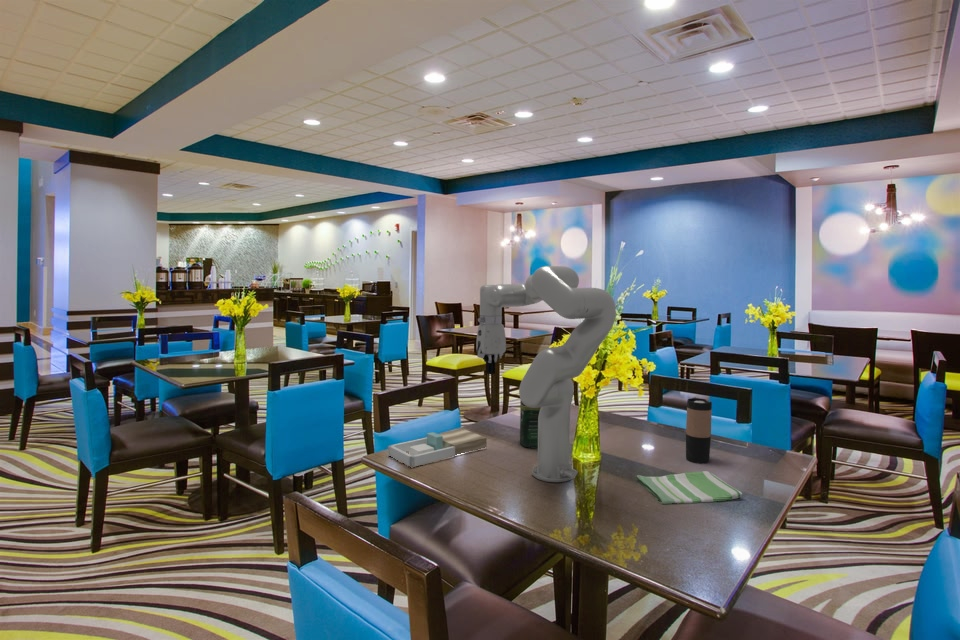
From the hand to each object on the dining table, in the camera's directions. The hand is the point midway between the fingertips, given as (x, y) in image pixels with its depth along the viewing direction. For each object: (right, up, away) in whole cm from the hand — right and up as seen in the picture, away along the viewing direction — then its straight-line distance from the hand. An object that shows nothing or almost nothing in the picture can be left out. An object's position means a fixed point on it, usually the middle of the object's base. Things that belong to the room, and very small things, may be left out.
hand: (490, 373), depth 180 cm
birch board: (-11, -27, +5) cm, 29 cm away
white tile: (-23, -24, -5) cm, 34 cm away
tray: (-23, -27, -5) cm, 36 cm away
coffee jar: (+15, -27, +9) cm, 32 cm away
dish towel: (+55, -30, -32) cm, 71 cm away
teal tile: (-18, -24, -1) cm, 30 cm away
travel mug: (+69, -28, -7) cm, 75 cm away
